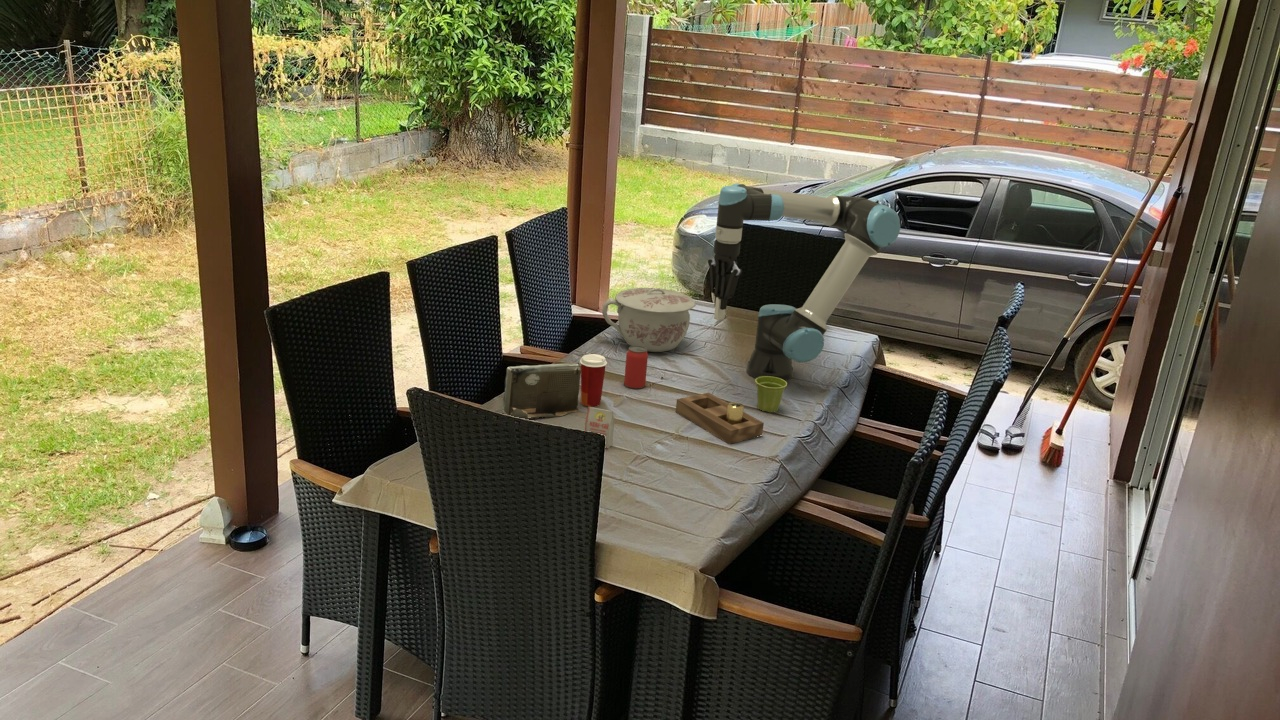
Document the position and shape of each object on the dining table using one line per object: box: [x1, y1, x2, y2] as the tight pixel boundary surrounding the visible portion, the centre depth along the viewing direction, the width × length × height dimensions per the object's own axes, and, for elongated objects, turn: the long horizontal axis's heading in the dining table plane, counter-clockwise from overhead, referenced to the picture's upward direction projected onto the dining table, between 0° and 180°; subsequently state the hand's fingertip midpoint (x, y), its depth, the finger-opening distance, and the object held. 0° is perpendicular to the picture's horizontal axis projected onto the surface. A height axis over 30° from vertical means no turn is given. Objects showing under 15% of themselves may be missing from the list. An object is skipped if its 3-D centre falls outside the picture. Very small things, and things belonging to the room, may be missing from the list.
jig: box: [675, 392, 765, 445], centre depth 274 cm, size 12×24×4 cm, turn 36°
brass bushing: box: [726, 401, 745, 425], centre depth 270 cm, size 4×4×8 cm
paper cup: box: [579, 353, 608, 408], centre depth 280 cm, size 8×8×14 cm
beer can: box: [623, 345, 649, 390], centre depth 296 cm, size 7×7×12 cm
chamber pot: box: [601, 287, 697, 353], centre depth 330 cm, size 28×28×21 cm
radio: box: [501, 362, 581, 420], centre depth 270 cm, size 23×9×15 cm, turn 114°
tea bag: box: [584, 406, 615, 450], centre depth 255 cm, size 4×7×10 cm, turn 74°
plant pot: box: [754, 376, 788, 413], centre depth 287 cm, size 9×9×9 cm
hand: (718, 318), depth 287 cm, fingers closed
